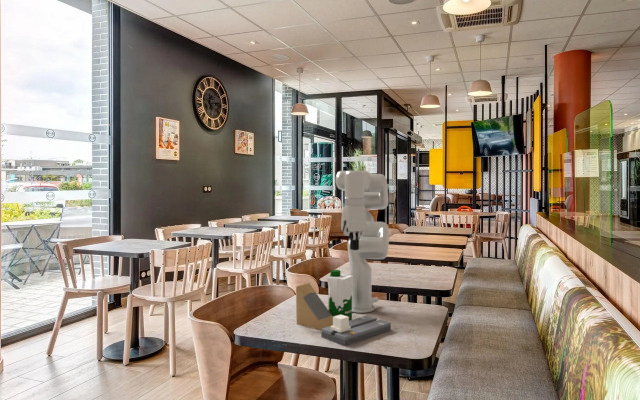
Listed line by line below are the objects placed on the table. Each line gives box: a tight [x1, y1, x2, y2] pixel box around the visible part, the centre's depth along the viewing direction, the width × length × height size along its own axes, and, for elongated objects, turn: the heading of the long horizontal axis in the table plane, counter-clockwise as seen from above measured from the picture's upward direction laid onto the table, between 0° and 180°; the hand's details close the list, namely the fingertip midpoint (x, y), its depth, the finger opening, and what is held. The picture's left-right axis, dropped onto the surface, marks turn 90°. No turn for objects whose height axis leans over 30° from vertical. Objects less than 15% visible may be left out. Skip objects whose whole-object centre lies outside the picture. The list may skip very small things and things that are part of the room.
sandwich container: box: [295, 282, 333, 330], centre depth 177 cm, size 9×15×15 cm, turn 53°
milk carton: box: [326, 269, 353, 320], centre depth 182 cm, size 9×9×20 cm
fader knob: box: [331, 315, 351, 333], centre depth 161 cm, size 5×5×6 cm
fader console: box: [320, 315, 392, 347], centre depth 167 cm, size 24×12×3 cm, turn 131°
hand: (354, 249), depth 178 cm, fingers closed
